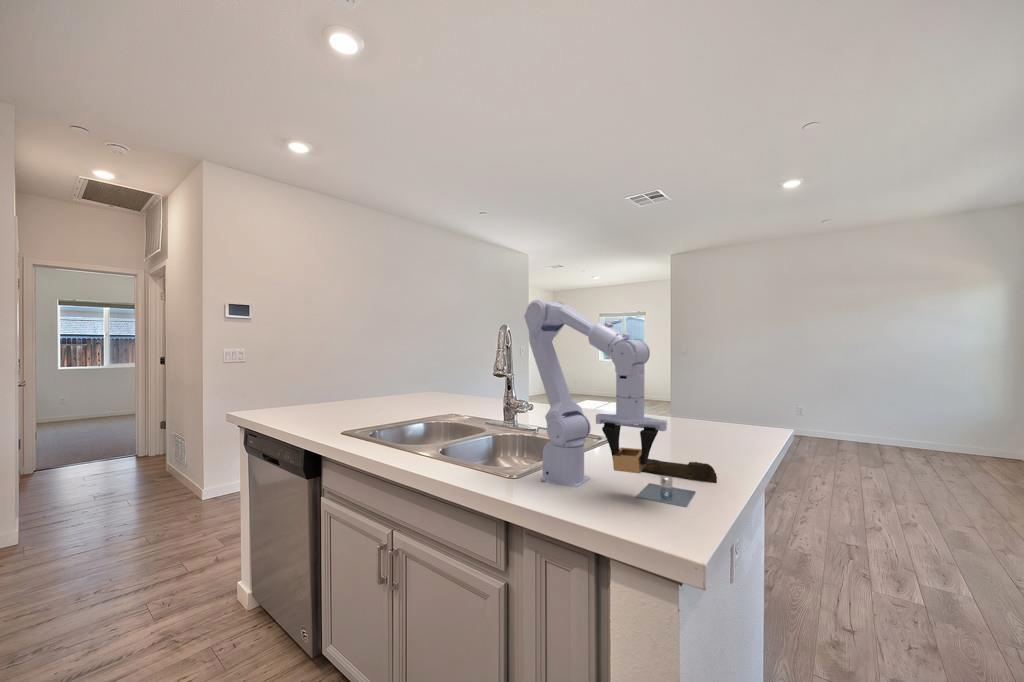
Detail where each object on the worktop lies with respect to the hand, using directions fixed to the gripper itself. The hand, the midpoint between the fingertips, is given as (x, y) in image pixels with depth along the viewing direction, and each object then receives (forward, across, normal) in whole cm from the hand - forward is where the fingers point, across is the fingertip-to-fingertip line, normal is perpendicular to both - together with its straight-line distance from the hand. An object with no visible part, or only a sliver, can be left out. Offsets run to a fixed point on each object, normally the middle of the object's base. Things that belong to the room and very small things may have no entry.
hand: (629, 461), depth 91 cm
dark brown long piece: (+9, +4, +21) cm, 23 cm away
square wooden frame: (+1, 0, 0) cm, 1 cm away
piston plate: (+8, +6, +6) cm, 12 cm away
